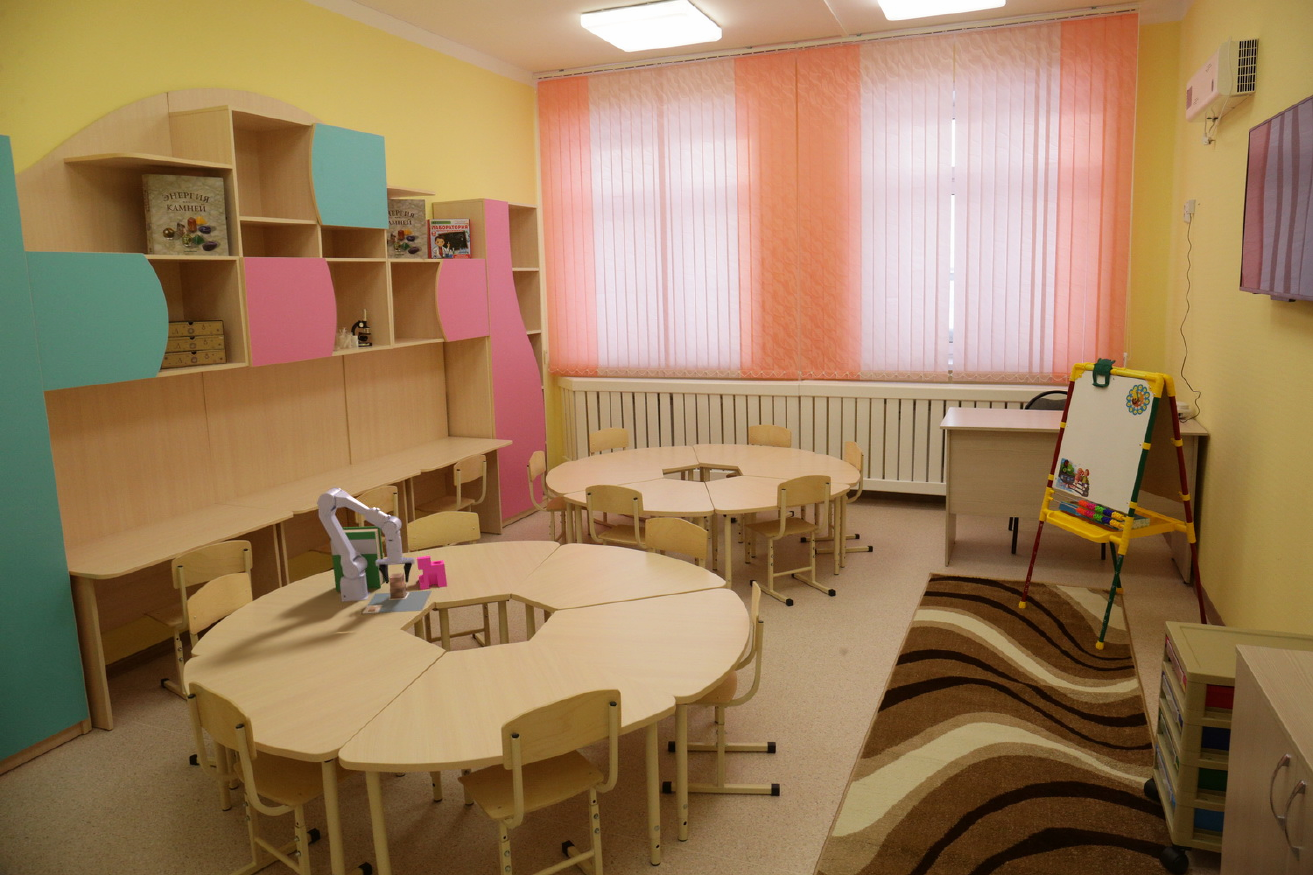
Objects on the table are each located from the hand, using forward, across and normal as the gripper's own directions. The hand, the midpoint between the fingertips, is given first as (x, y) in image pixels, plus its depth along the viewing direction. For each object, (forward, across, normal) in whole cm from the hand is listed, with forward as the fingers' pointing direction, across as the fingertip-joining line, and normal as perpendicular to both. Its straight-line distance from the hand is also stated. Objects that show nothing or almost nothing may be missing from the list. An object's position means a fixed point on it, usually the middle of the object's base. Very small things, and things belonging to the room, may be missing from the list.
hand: (397, 582), depth 344 cm
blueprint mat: (+6, +1, -6) cm, 9 cm away
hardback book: (+6, -18, +14) cm, 24 cm away
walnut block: (+6, 0, 0) cm, 6 cm away
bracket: (+7, +11, +13) cm, 18 cm away
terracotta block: (+2, 0, 0) cm, 2 cm away
